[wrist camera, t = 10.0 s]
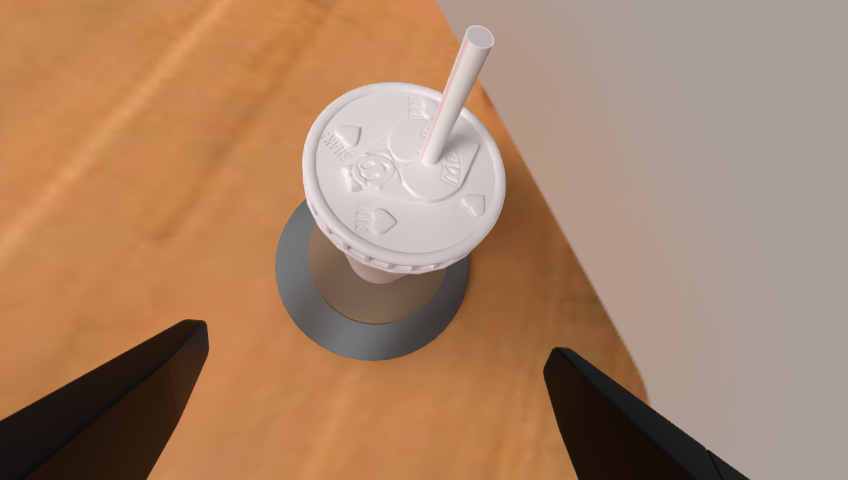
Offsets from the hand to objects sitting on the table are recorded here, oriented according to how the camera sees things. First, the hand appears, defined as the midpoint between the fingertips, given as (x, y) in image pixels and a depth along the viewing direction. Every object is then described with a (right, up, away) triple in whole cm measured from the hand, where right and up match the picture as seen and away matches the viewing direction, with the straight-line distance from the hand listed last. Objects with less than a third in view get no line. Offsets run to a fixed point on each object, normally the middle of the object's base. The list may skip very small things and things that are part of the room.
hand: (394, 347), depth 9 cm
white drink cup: (-2, +2, +11) cm, 11 cm away
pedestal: (-2, +1, +14) cm, 14 cm away
